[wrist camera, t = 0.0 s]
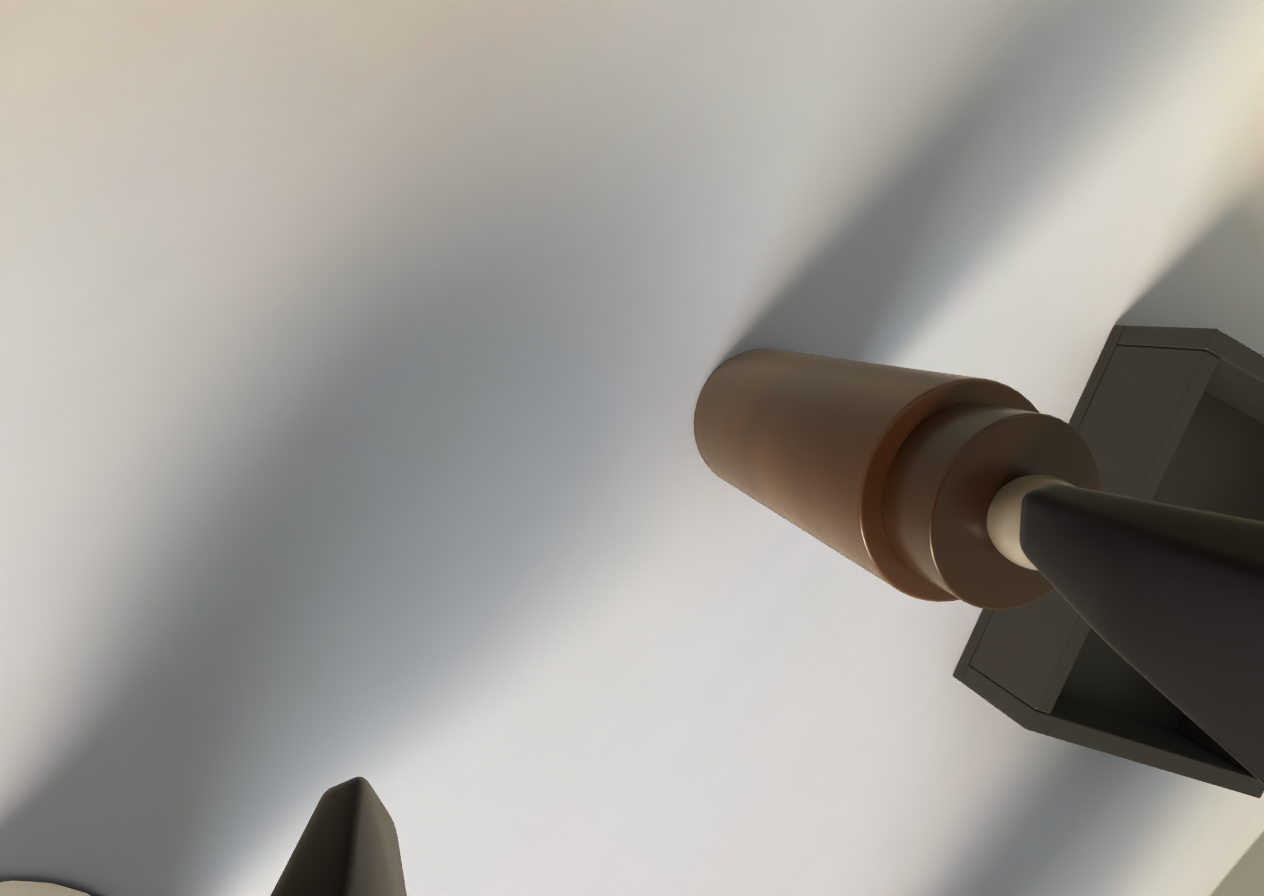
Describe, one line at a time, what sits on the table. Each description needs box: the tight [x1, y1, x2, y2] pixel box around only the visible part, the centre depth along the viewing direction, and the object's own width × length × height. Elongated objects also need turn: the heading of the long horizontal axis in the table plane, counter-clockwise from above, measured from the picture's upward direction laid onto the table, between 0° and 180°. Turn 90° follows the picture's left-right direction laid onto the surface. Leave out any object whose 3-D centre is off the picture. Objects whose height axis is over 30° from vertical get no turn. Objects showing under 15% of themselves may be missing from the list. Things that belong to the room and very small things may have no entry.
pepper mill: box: [694, 349, 1101, 610], centre depth 19 cm, size 5×5×14 cm
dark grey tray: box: [953, 325, 1264, 798], centre depth 29 cm, size 16×14×4 cm
